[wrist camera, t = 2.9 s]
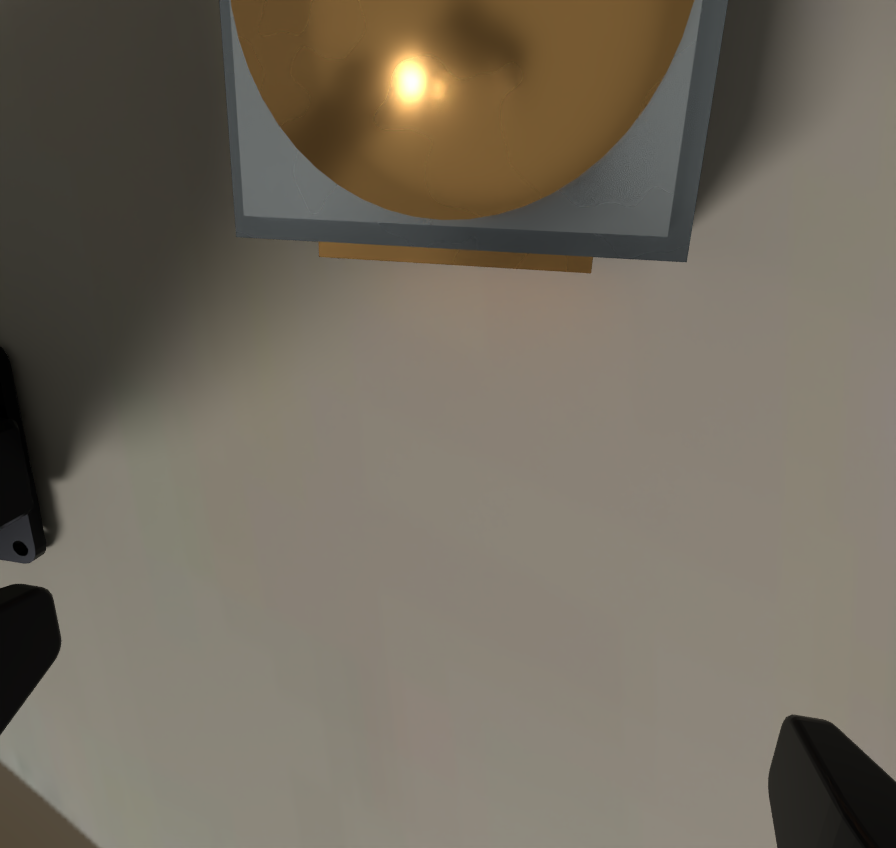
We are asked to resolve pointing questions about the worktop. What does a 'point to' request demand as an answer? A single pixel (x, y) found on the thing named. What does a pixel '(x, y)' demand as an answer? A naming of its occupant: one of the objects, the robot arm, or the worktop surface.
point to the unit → (471, 127)
